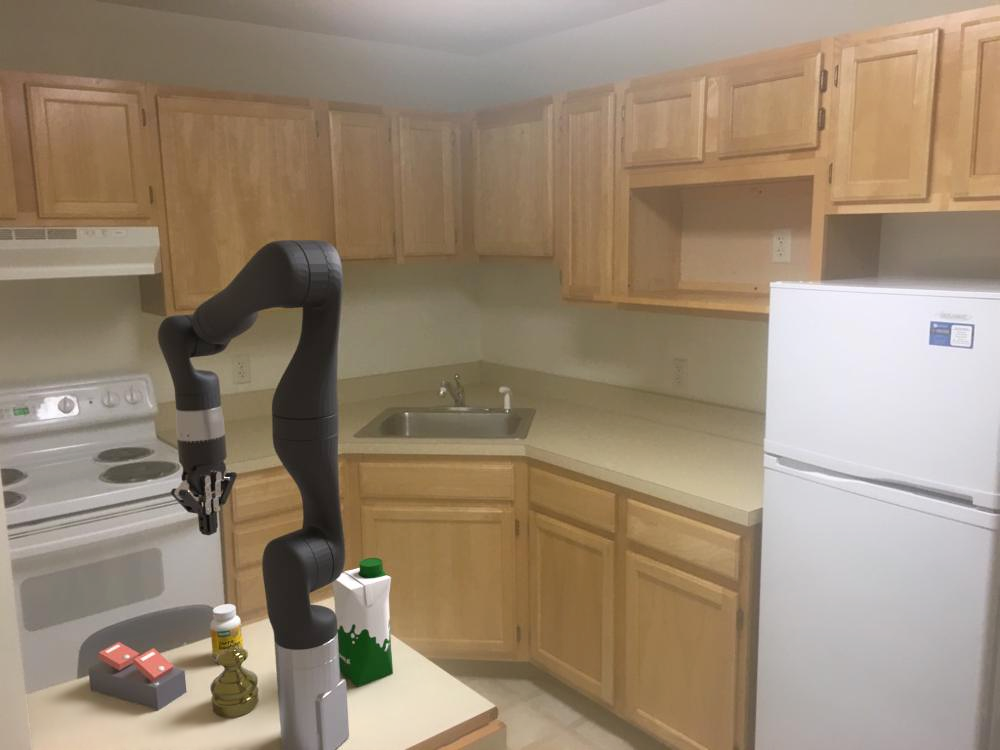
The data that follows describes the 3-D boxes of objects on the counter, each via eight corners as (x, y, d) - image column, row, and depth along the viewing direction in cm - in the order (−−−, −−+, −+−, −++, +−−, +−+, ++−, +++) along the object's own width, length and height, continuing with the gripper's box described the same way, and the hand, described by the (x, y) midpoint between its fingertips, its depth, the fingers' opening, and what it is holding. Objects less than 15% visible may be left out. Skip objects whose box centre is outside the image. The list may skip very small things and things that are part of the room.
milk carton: (400, 674, 139) (395, 566, 136) (353, 692, 134) (347, 579, 131) (376, 654, 146) (371, 551, 143) (331, 671, 141) (324, 564, 138)
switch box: (186, 691, 135) (184, 669, 134) (158, 710, 130) (156, 687, 129) (120, 673, 142) (117, 652, 141) (90, 690, 136) (88, 668, 136)
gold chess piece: (268, 697, 133) (264, 642, 131) (239, 722, 126) (235, 664, 124) (232, 690, 135) (227, 635, 134) (202, 714, 128) (197, 656, 127)
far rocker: (138, 662, 138) (139, 652, 137) (118, 674, 134) (119, 663, 133) (118, 651, 139) (118, 641, 139) (98, 661, 136) (99, 651, 135)
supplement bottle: (239, 647, 150) (235, 599, 149) (247, 658, 146) (243, 609, 144) (209, 655, 147) (205, 607, 146) (217, 667, 143) (213, 617, 141)
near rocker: (170, 674, 134) (173, 665, 134) (151, 685, 131) (154, 677, 130) (150, 656, 136) (153, 647, 135) (131, 667, 132) (134, 658, 132)
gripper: (187, 444, 124) (196, 549, 127) (246, 427, 136) (253, 523, 139) (152, 441, 127) (161, 543, 130) (213, 424, 139) (220, 518, 142)
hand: (209, 533), depth 134 cm, fingers closed
